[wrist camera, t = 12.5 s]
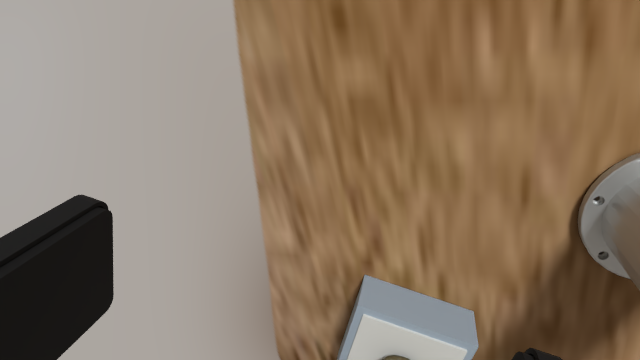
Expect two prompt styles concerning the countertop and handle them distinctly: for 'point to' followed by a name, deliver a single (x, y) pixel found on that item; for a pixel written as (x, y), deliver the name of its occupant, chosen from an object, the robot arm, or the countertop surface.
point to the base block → (406, 326)
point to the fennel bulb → (395, 358)
